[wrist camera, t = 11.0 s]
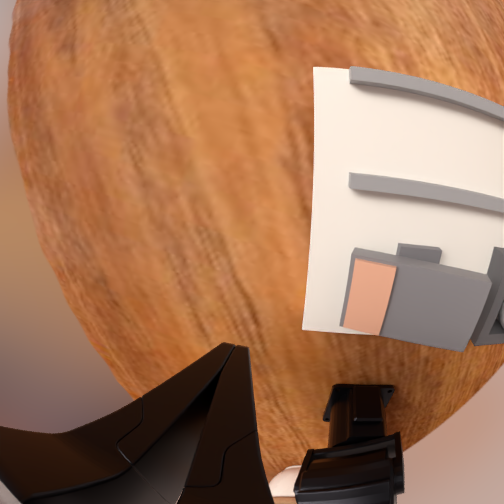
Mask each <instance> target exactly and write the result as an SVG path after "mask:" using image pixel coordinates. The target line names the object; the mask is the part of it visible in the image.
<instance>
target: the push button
mask: <svg viewBox="0 0 504 504" xmlns="http://www.w3.org/2000/svg"><path fill="white" fill-rule="evenodd" d="M497 316H498V320H499V322H500V324H501V325H502V327H503V328H504V300H503V302H502V305H501V308H500V310H499V312H498V315H497Z"/></svg>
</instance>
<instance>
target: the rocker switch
mask: <svg viewBox="0 0 504 504" xmlns="http://www.w3.org/2000/svg"><path fill="white" fill-rule="evenodd" d="M491 285H492V282H491V280H490V278H489V277H488V275H487V274H483V273H478V272H474V271H469V270H465V269H460V268H456V267H451V266H446V265H442V264H437V263H432V262H427V261H423V260H418V259H413V258H408V257H403V256H398V255H393V254H388V253H383V252H377V251H372V250H367V249H362V248H356V247H355V248H354V250H353V252H352V254H351V260H350V267H349V274H348V280H347V286H346V292H345V298H344V303H343V309H342V314H341V319H340V324H339V326H341V327H344V328H348V329H352V330H356V331H360V332H365V333H369V334H373V335H378V336H383V337H388V338H393V339H397V340H402V341H407V342H411V343H416V344H421V345H426V346H432V347H437V348H442V349H448V350H453V351H459V352H464V350H465V348H466V346H467V344H468V341H469V339H470V337H471V335H472V333H473V331H474V329H475V326H476V324H477V322H478V319H479V317H480V315H481V312H482V310H483V307H484V305H485V302H486V299H487V297H488V294H489V291H490V288H491Z"/></svg>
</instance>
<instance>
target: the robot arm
mask: <svg viewBox="0 0 504 504" xmlns="http://www.w3.org/2000/svg"><path fill="white" fill-rule="evenodd" d="M394 391H395V389H394V386H393V385H347V384H336V385H334V386H333V387H332V390H331V394H330V397H329V400H328V403H327V406H326V409H325V412H324V415H323V421H326V422H330V427H329V440H328V448H323V449H315V450H314V449H308V451H307V453H306V456H305V458H304V460H303V463H302V466H301V468H300V471H299V474H298V476H297V479H296V481H295V484H294V489H293V492H294V493H295V500H296V503H297V504H397V495H398V494H402V493H404V461H403V449H402V442H401V435H400V431H399V432H396V433H394V434H392V435H388V436H387V427H386V416H385V407H386V406H387V404H388V402H389V400H390V398H391V397H392V395H393V393H394ZM182 490H183V491H182ZM181 492H182V494H181ZM180 494H181V496H180ZM179 496H180V498H179ZM178 498H179V500H178V502H177V504H275V503H274V500H273V497H272V494H271V490H270V487H269V484H268V481H267V478H266V474H265V470H264V466H263V463H262V459H261V452H260V446H259V438H258V432H257V421H256V411H255V402H254V392H253V382H252V372H251V362H250V352H249V347H246V346H241V345H237V346H236V345H234V344H231V343H226V342H223V343H221V344H220V345H218V346H217V347H215V348H214V349H213V350H211V351H210V352H208V353H207V354H205V355H204V356H202V357H201V358H200V359H198V360H197V361H195V362H194V363H192V364H191V365H189V366H188V367H186V368H185V369H183V370H182V371H180V372H179V373H177V374H176V375H174V376H173V377H171V378H170V379H168V380H166V381H165V382H163V383H162V384H160V385H159V386H157V387H156V388H154V389H152V390H151V391H149V392H148V393H146V394H144V395H143V396H142V398H141V397H139V398H138V399H136V400H135V401H133V402H131V403H130V404H128V405H126V406H124V407H122V408H121V409H119V410H117V411H115V412H113V413H111V414H109V415H107V416H105V417H102V418H100V419H97V420H95V421H93V422H90V423H88V424H85V425H83V426H81V427H78V428H75V429H73V430H70V431H67V432H63V433H55V434H54V433H53V434H51V433H40V432H32V431H25V430H18V429H13V428H8V427H3V426H0V504H175V503H176V501H177V499H178Z"/></svg>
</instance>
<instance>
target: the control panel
mask: <svg viewBox="0 0 504 504" xmlns="http://www.w3.org/2000/svg"><path fill="white" fill-rule="evenodd" d="M313 74H314V178H313V203H312V222H311V238H310V252H309V265H308V276H307V287H306V297H305V307H304V316H303V325H302V330H311V331H323V332H335V333H350V334H368V335H373V334H369V333H365V332H360V331H356V330H352V329H348V328H344V327H341V326H339V324H340V319H341V314H342V309H343V303H344V298H345V292H346V286H347V280H348V274H349V267H350V260H351V254H352V252H353V250H354V248H355V247H356V248H362V249H367V250H372V251H377V252H383V253H388V254H393V255H398V256H403V257H408V258H413V259H418V260H423V261H427V262H432V263H437V264H442V265H446V266H451V267H456V268H460V269H465V270H469V271H474V272H478V273H483V274H487V275H488V277H489V278H490V280H491V282H492V285H491V288H490V291H489V294H488V297H487V299H486V302H485V305H484V307H483V310H482V312H481V315H480V317H479V319H478V322H477V324H476V326H475V329H474V331H473V333H472V335H471V337H470V339H471V341H472V343H473V344H474V346H480V345H491V344H501V343H504V328H503V327H502V325H501V324H500V322H499V320H498V316H497V315H498V312H499V310H500V308H501V305H502V302H503V300H504V107H503V106H501V105H499V104H497V103H494V102H492V101H490V100H487V99H485V98H482V97H480V96H477V95H474V94H472V93H469V92H466V91H463V90H460V89H457V88H454V87H451V86H448V85H444V84H441V83H438V82H434V81H430V80H426V79H422V78H418V77H414V76H409V75H405V74H400V73H395V72H389V71H383V70H377V69H370V68H363V67H354V66H350V69H339V68H325V67H313Z"/></svg>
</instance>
